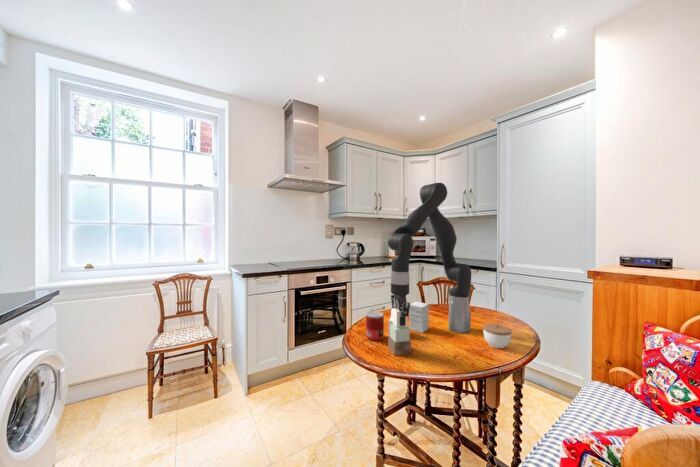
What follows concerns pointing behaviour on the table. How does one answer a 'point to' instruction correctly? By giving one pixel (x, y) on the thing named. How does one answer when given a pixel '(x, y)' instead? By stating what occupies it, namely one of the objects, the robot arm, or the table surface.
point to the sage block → (399, 333)
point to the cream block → (397, 317)
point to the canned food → (375, 325)
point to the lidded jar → (497, 335)
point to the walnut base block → (399, 347)
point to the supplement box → (419, 317)
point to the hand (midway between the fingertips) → (399, 323)
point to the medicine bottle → (390, 321)
